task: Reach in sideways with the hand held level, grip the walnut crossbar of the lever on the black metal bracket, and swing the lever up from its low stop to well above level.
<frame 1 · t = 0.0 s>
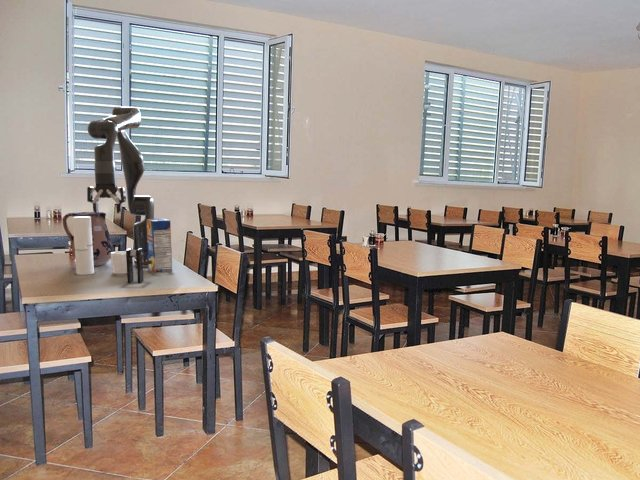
hand: (107, 213, 260), 29 cm above the table, tool pointing down, fingers open, 8 cm apart
lever: (138, 257, 268), point 11 cm above the table, hinge at -26.0°
bracket: (135, 285, 265), on the table
ceramic pitcher: (89, 265, 308), on the table
cylindrical container: (85, 273, 288), on the table
white cup: (121, 275, 285), on the table
juice carton: (160, 273, 293), on the table
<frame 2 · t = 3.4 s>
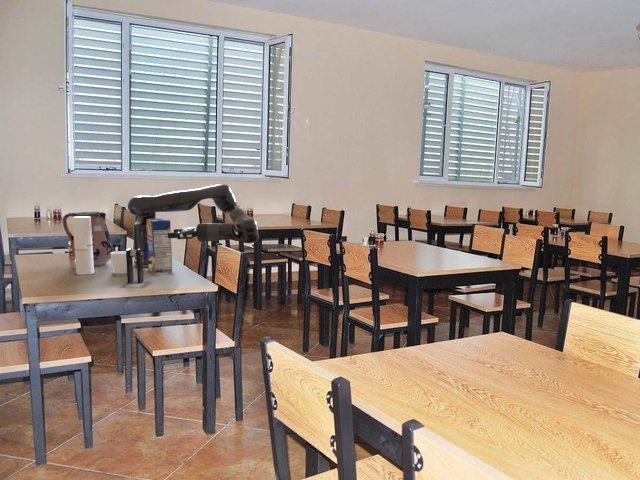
hand: (170, 233, 272), 20 cm above the table, tool horizontal, fingers open, 8 cm apart
nothing on the table moved.
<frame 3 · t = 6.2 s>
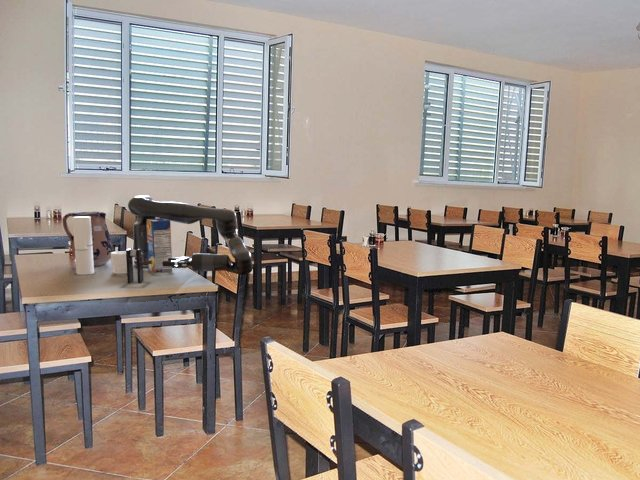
hand: (165, 262, 275), 8 cm above the table, tool horizontal, fingers open, 8 cm apart
nothing on the table moved.
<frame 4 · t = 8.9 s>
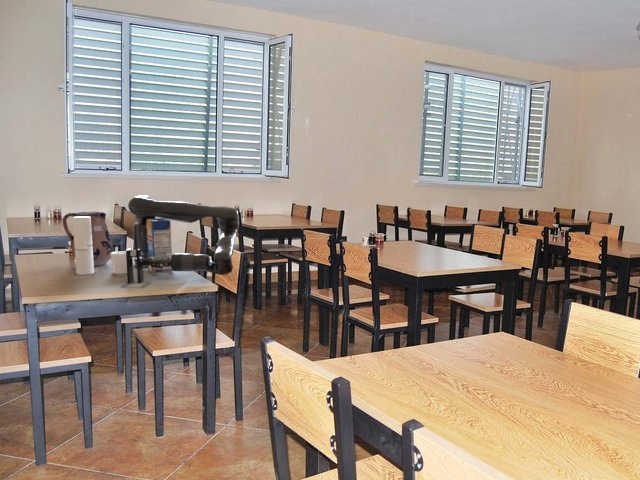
hand: (142, 262, 274), 8 cm above the table, tool horizontal, fingers closed on lever, 2 cm apart
lever: (138, 256, 268), point 11 cm above the table, hinge at -21.7°, touching gripper
everything else where it was.
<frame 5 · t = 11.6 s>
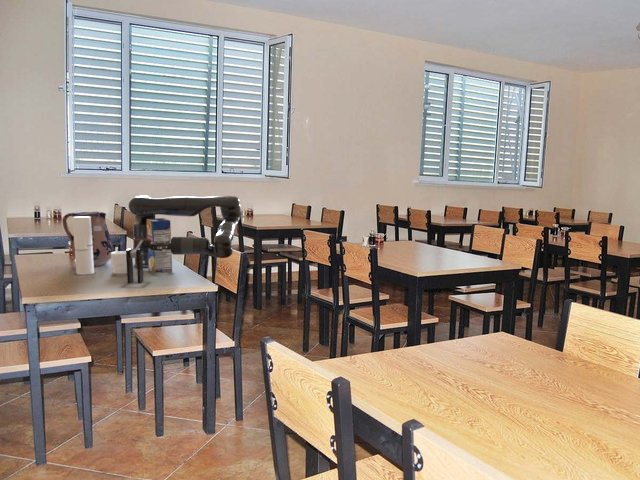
hand: (142, 245, 274), 15 cm above the table, tool horizontal, fingers closed
lever: (138, 247, 268), point 15 cm above the table, hinge at 18.6°, touching gripper
everything else where it was.
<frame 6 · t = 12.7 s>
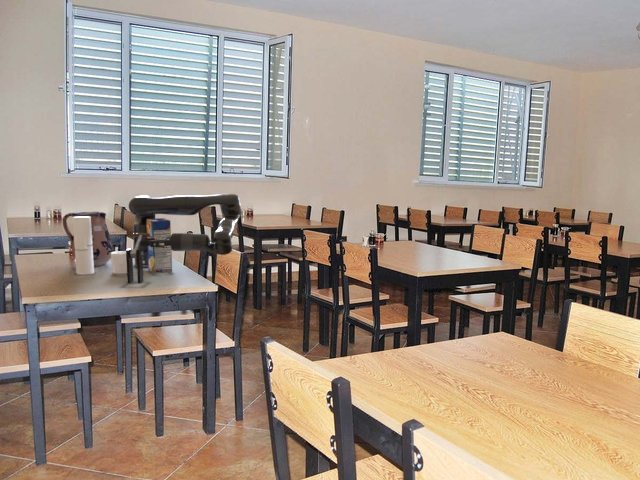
hand: (143, 241, 274), 16 cm above the table, tool horizontal, fingers open, 6 cm apart
lever: (137, 244, 267), point 16 cm above the table, hinge at 32.1°
everything else where it was.
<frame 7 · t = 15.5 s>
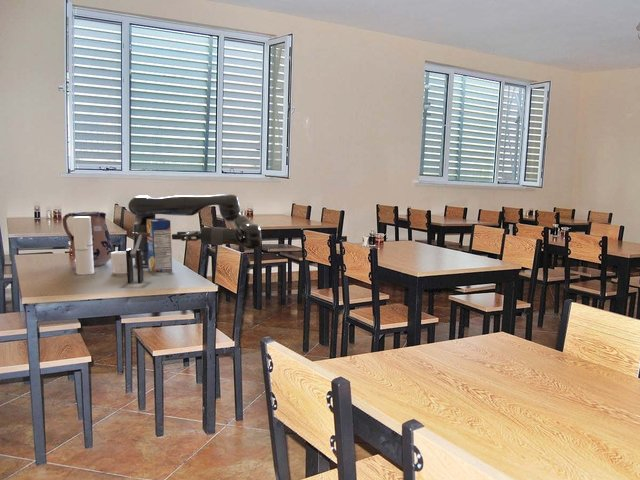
hand: (174, 235, 275), 19 cm above the table, tool horizontal, fingers open, 8 cm apart
lever: (137, 244, 267), point 16 cm above the table, hinge at 32.8°
everything else where it was.
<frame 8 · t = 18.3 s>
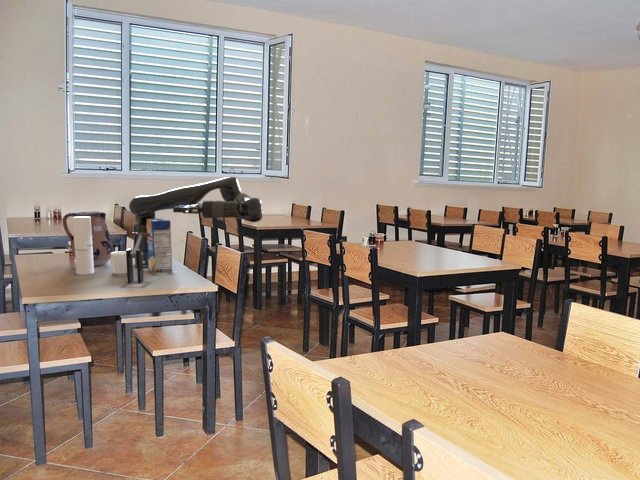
hand: (176, 208, 276), 30 cm above the table, tool horizontal, fingers open, 8 cm apart
nothing on the table moved.
at the end: lever at +33° (first picture: -26°) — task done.
